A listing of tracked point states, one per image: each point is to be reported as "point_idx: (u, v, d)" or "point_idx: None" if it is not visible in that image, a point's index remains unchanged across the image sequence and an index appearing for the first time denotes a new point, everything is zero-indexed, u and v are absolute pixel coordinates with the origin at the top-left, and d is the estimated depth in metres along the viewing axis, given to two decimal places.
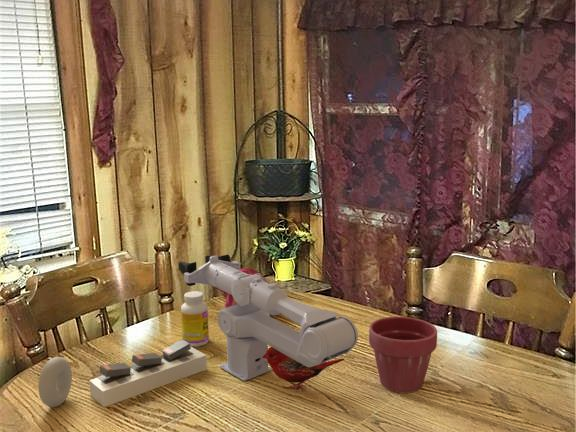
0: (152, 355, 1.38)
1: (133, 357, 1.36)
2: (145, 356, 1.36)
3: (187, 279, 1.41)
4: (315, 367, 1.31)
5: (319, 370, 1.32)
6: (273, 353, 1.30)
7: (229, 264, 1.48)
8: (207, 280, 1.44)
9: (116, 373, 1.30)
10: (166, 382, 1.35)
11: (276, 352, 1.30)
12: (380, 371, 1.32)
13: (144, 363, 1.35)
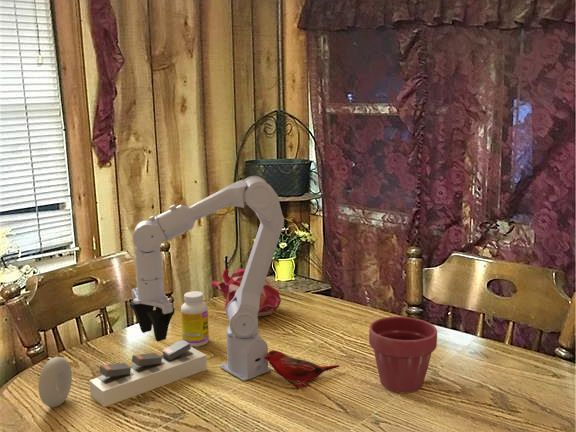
0: (152, 355, 1.38)
1: (133, 357, 1.36)
2: (145, 356, 1.36)
3: (168, 306, 1.30)
4: (315, 365, 1.38)
5: (319, 369, 1.37)
6: (274, 352, 1.38)
7: (137, 293, 1.38)
8: (161, 294, 1.34)
9: (116, 373, 1.30)
10: (166, 382, 1.35)
11: (277, 351, 1.39)
12: (380, 371, 1.32)
13: (144, 363, 1.35)
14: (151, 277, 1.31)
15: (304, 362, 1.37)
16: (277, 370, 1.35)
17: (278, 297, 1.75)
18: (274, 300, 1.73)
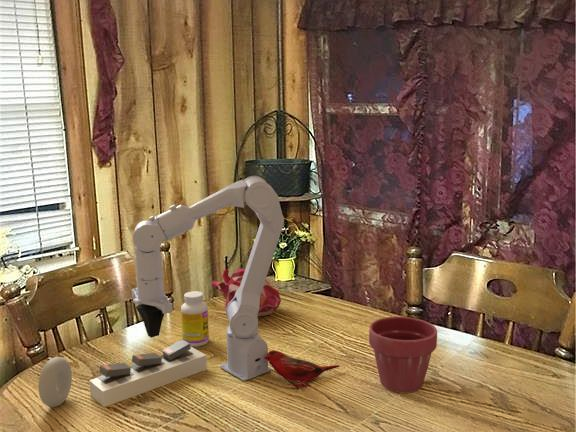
0: (152, 355, 1.38)
1: (133, 357, 1.36)
2: (145, 356, 1.36)
3: (168, 306, 1.30)
4: (315, 365, 1.38)
5: (319, 369, 1.37)
6: (274, 352, 1.38)
7: (137, 293, 1.38)
8: (161, 294, 1.34)
9: (116, 373, 1.30)
10: (166, 382, 1.35)
11: (277, 351, 1.39)
12: (380, 371, 1.32)
13: (144, 363, 1.35)
14: (151, 277, 1.31)
15: (304, 362, 1.37)
16: (277, 370, 1.35)
17: (278, 297, 1.75)
18: (274, 300, 1.73)
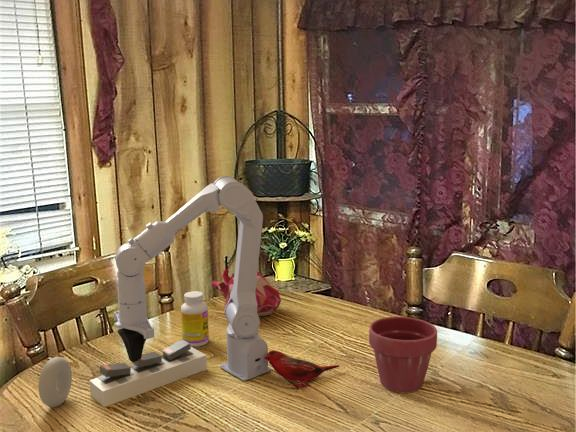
0: (151, 354, 1.38)
1: None
2: (145, 356, 1.36)
3: (150, 331, 1.28)
4: (315, 365, 1.38)
5: (319, 369, 1.37)
6: (274, 352, 1.38)
7: (119, 316, 1.36)
8: (143, 318, 1.32)
9: (116, 373, 1.30)
10: (166, 382, 1.35)
11: (277, 351, 1.39)
12: (380, 371, 1.32)
13: (144, 364, 1.35)
14: (134, 301, 1.29)
15: (304, 362, 1.37)
16: (277, 370, 1.35)
17: (278, 297, 1.75)
18: (274, 300, 1.73)
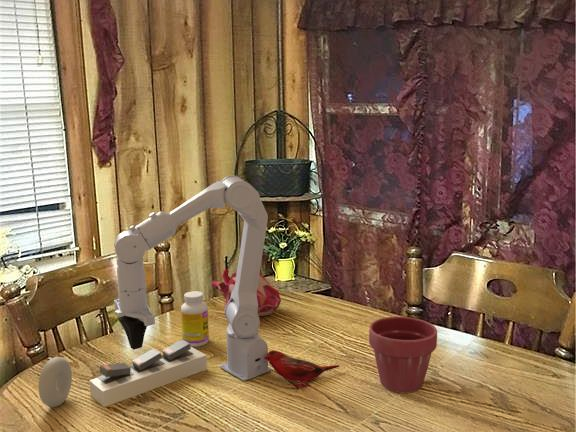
0: (150, 353, 1.38)
1: (133, 362, 1.36)
2: (144, 357, 1.36)
3: (151, 318, 1.27)
4: (315, 365, 1.38)
5: (319, 369, 1.37)
6: (274, 352, 1.38)
7: (119, 304, 1.35)
8: (143, 305, 1.31)
9: (116, 373, 1.30)
10: (166, 382, 1.35)
11: (277, 351, 1.39)
12: (380, 371, 1.32)
13: (145, 365, 1.35)
14: (134, 288, 1.29)
15: (304, 362, 1.37)
16: (277, 370, 1.35)
17: (278, 297, 1.75)
18: (274, 300, 1.73)
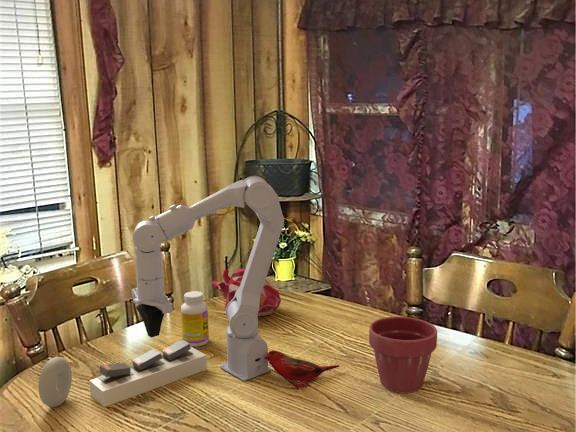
0: (150, 353, 1.38)
1: (133, 362, 1.36)
2: (144, 357, 1.36)
3: (168, 306, 1.30)
4: (315, 365, 1.38)
5: (319, 369, 1.37)
6: (274, 352, 1.38)
7: (137, 293, 1.38)
8: (161, 294, 1.34)
9: (116, 373, 1.30)
10: (166, 382, 1.35)
11: (277, 351, 1.39)
12: (380, 371, 1.32)
13: (145, 365, 1.35)
14: (151, 277, 1.31)
15: (304, 362, 1.37)
16: (277, 370, 1.35)
17: (278, 297, 1.75)
18: (274, 300, 1.73)
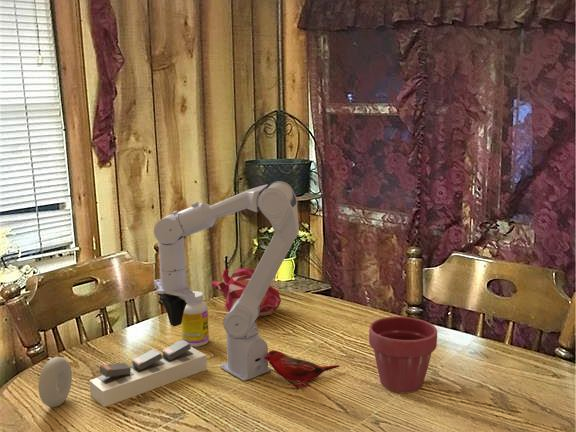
0: (150, 353, 1.38)
1: (133, 362, 1.36)
2: (144, 357, 1.36)
3: (191, 295, 1.36)
4: (315, 365, 1.38)
5: (319, 369, 1.37)
6: (274, 352, 1.38)
7: (160, 284, 1.44)
8: (183, 284, 1.40)
9: (116, 373, 1.30)
10: (166, 382, 1.35)
11: (277, 351, 1.39)
12: (380, 371, 1.32)
13: (145, 365, 1.35)
14: (170, 268, 1.37)
15: (304, 362, 1.37)
16: (277, 370, 1.35)
17: (278, 297, 1.75)
18: (274, 300, 1.73)
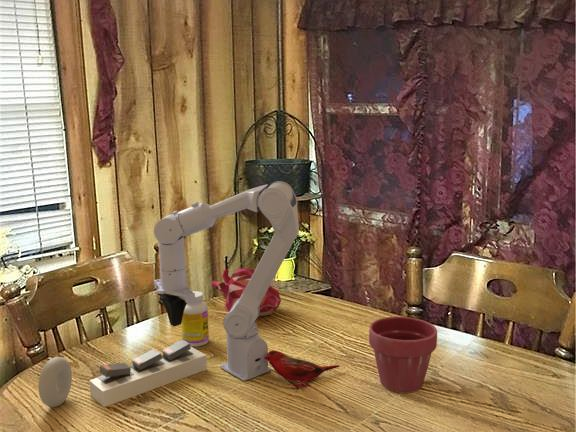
0: (151, 353, 1.38)
1: (133, 362, 1.36)
2: (144, 357, 1.36)
3: (191, 295, 1.36)
4: (315, 365, 1.38)
5: (319, 369, 1.37)
6: (274, 352, 1.38)
7: (160, 284, 1.44)
8: (183, 284, 1.40)
9: (116, 373, 1.30)
10: (166, 382, 1.35)
11: (277, 351, 1.39)
12: (380, 371, 1.32)
13: (145, 365, 1.35)
14: (170, 268, 1.37)
15: (304, 362, 1.37)
16: (277, 370, 1.35)
17: (278, 297, 1.75)
18: (274, 300, 1.73)
